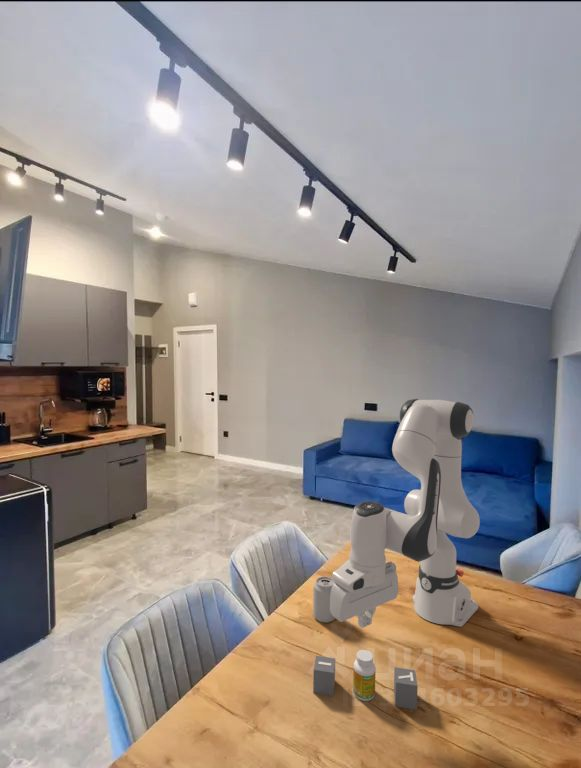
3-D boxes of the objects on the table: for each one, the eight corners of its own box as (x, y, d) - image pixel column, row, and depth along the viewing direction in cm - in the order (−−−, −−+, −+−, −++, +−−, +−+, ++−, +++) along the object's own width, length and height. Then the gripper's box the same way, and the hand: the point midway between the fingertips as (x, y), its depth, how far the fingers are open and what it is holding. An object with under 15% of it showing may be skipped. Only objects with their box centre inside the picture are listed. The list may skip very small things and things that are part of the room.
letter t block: (393, 690, 103) (394, 666, 103) (414, 693, 102) (415, 669, 102) (395, 706, 98) (395, 682, 98) (416, 709, 97) (417, 685, 97)
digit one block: (315, 677, 107) (316, 655, 106) (334, 680, 106) (335, 657, 105) (313, 692, 102) (313, 669, 101) (333, 696, 101) (333, 672, 100)
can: (336, 610, 135) (336, 575, 135) (336, 625, 128) (337, 587, 127) (313, 609, 136) (314, 574, 135) (312, 623, 129) (313, 586, 128)
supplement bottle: (361, 705, 98) (362, 666, 98) (348, 688, 103) (349, 651, 102) (379, 696, 101) (380, 658, 100) (365, 681, 105) (366, 645, 105)
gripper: (386, 554, 108) (384, 605, 109) (326, 575, 97) (324, 631, 98) (405, 564, 103) (403, 618, 104) (344, 587, 92) (342, 647, 92)
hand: (364, 625), depth 101 cm, fingers closed
